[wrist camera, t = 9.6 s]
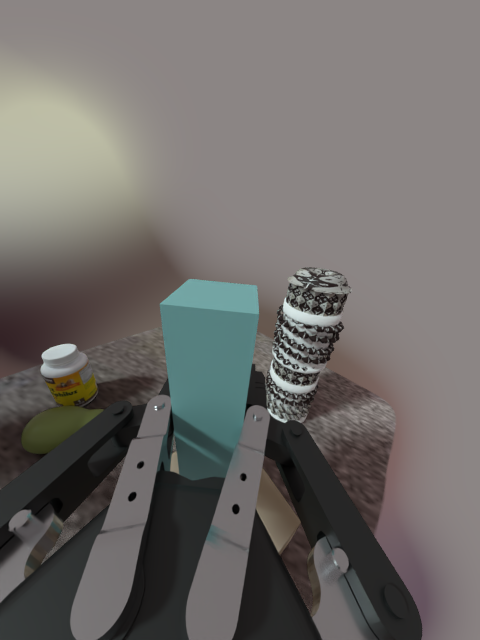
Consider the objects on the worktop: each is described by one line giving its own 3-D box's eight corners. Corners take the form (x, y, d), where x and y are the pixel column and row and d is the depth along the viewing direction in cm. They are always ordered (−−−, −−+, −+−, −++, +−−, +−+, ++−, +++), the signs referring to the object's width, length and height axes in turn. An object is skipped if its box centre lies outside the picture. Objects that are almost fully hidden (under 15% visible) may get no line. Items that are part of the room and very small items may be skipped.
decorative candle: (261, 426, 31) (293, 277, 20) (258, 384, 40) (280, 261, 28) (316, 431, 31) (379, 285, 20) (302, 388, 40) (341, 267, 28)
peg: (230, 509, 14) (258, 314, 7) (182, 503, 14) (159, 303, 7) (234, 456, 17) (257, 285, 10) (195, 451, 17) (189, 278, 10)
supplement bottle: (49, 411, 30) (21, 362, 26) (75, 385, 35) (55, 339, 31) (85, 412, 31) (64, 363, 26) (106, 386, 36) (91, 341, 31)
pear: (34, 400, 26) (119, 395, 30) (41, 426, 28) (119, 418, 32) (4, 440, 21) (108, 428, 25) (14, 467, 23) (110, 453, 27)
